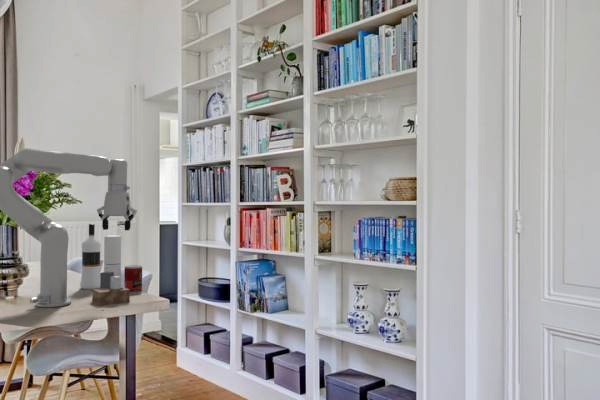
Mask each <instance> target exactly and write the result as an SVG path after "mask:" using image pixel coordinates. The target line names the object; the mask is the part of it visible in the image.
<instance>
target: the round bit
mask: <svg viewBox="0 0 600 400" xmlns="http://www.w3.org/2000/svg"><path fill="white" fill-rule="evenodd" d="M121 285H122V275H121V276H112V277H111V286H110V290H121V287H122V286H121Z"/></svg>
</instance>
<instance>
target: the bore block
mask: <svg viewBox="0 0 600 400" xmlns="http://www.w3.org/2000/svg"><path fill="white" fill-rule="evenodd" d="M91 291H92V292H91V293H92V296H91V297H92V301H91V302H93V303H94V304H96V305H99V306H102V305H103V306H104V305H106V306H107V305H115V304H120V303H121V304H123V303H130V298H131V297H130V295H131V294H130V293H131V291H130V289H127V288H124V286H121V290H110V288H101V289H100V288H98V289H91Z"/></svg>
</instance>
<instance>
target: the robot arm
mask: <svg viewBox="0 0 600 400" xmlns="http://www.w3.org/2000/svg"><path fill="white" fill-rule="evenodd" d="M29 172H39V173H40V172H42V173H49V174H59V175H60V174H63V175H65V174H66V175H67V174H69V175H70V174H83V175H84V174H85V175H92V176H95V177H103V176H107V191H106V192H105V196H104V202H103V206H100V207H99V208H97V209H96V212H97V214H98V216H99V218H100V219H101V221H102V227H101V228H102V231H103V230H104V231H107V230H109V217H123V218H124V219H125V221H124V230H125V231H130V230H131V223H132V219H134V218H135V215H136V214H137V213H138V212H137V209H135V208H133V207H132V206H131V199H130V194H129V192H128V190H130V189H131V187H130V186H128V162H127V160H125V159H119V158H118V159H117V158H112V159H108V157H105V156H99V155H92V154H91V155H90V154H81V153H72V152H63V151H56V150H55V151H53V150H45V149H44V150H43V149H37V148H36V149H35V148H23V149H20V150H19V151H17V153H14V155H12V156H11V157H9V158H8V159H7V160H5V161H3V162H2V163H0V211H1V212H3V213H4V214H5V215H6V216H8V217H9V218H10V219H12V221H14V222H15V223H16V225H17V226H18V227H19V228H21V229H22V230H23V231H24V232H25V233H27V234H28V235H30V236H32V238H34V239H35V240H36V241H37V242H39V243H40V244H41V245H40V246H41V247H40V263H39V264H40V276H39V277H40V278H39V279H40V280H39V281H40V283H39V284H40V286H39V292H40V293H39V294H37V296H36V297H31V298H30V299H29V303H30V304H35V306H36V307H38V308H39V307H40V308H57V307H64V306H68V305H70V304H71V303H72V300H71V299H70V298H69V299H68V298H67V297H68V295H67V294H68V248H69V241H70V240H69V234H68V233H69V232H68V230H67V228H65V227H64V226H63V225H61V224H58V223H56V222H55V221H54V220H52V219H51V218H49V217H48V216H47V215H45V214H44V213H43V211H42V210H41V209H40V208H38V207H37V206H34V205H33V204H32V203H31V202H30V201H28V200H27V199H25V198H24V197H23V196H22V195H21V194H19V193H18V192H17V190H15V188H14V183H15V182H17V181H18V180H19V179H21V178H23V177H25V176H26V175H27V174H29Z"/></svg>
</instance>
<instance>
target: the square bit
mask: <svg viewBox="0 0 600 400" xmlns="http://www.w3.org/2000/svg"><path fill="white" fill-rule="evenodd" d="M112 276H114V272H104V271H103V272H100V288H99V289H101V288H110V286H111V277H112Z"/></svg>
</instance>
